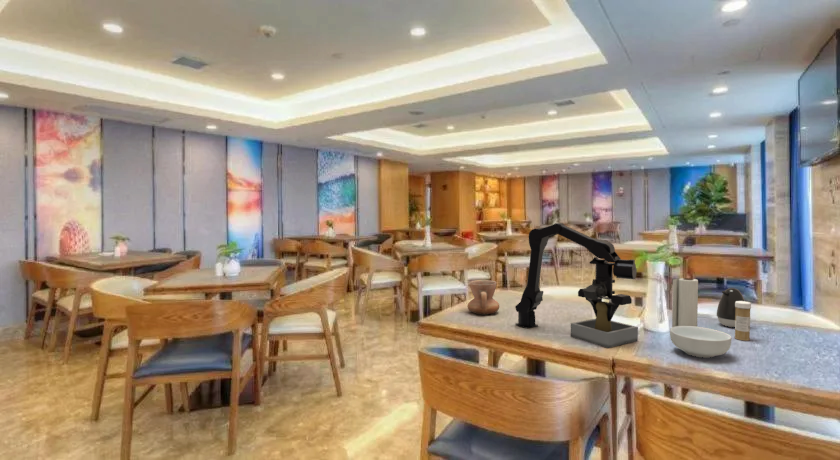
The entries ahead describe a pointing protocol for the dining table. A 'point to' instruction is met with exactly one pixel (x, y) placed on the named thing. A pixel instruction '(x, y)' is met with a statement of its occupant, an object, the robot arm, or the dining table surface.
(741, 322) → the sprinkles bottle
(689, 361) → the dining table surface
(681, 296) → the grey tall block
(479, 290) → the ceramic jug
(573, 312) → the dining table surface
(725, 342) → the cereal bowl
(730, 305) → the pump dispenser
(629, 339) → the tray
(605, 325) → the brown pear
